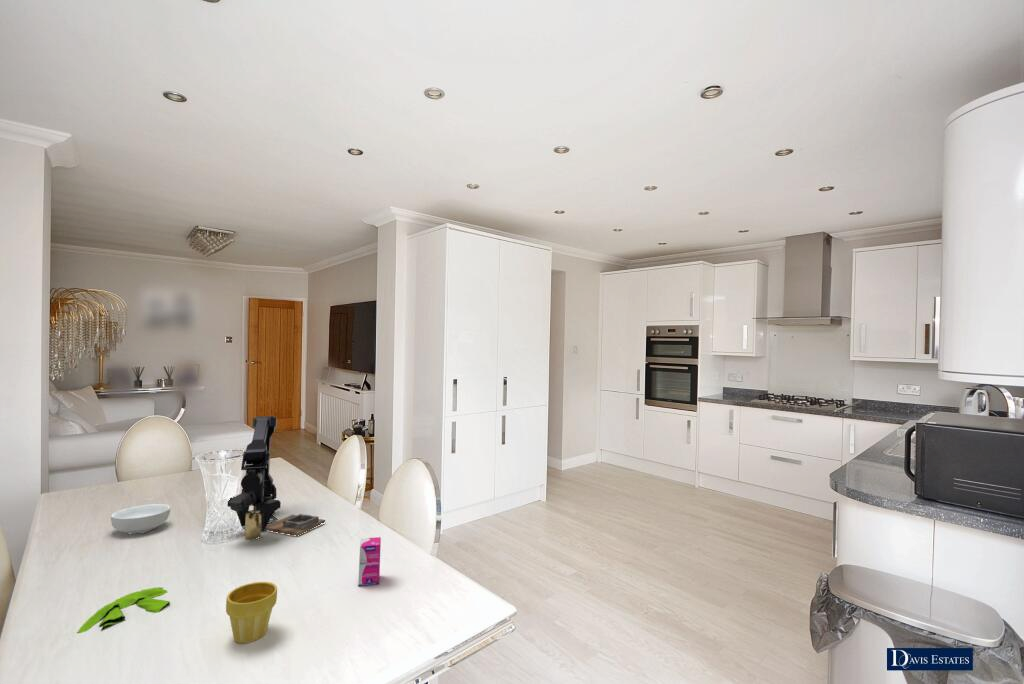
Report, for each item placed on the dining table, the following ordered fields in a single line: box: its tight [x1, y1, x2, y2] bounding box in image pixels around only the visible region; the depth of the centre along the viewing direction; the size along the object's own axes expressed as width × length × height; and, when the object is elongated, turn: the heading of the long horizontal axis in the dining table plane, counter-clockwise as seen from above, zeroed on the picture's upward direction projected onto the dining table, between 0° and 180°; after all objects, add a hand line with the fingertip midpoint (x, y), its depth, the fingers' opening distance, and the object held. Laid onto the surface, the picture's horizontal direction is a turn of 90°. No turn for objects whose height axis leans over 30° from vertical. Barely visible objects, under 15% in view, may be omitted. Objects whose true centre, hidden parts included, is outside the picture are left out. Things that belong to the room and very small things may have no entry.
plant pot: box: [225, 581, 278, 644], centre depth 106 cm, size 10×10×10 cm
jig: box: [265, 513, 326, 536], centre depth 172 cm, size 16×14×4 cm
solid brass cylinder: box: [244, 509, 262, 541], centre depth 162 cm, size 5×5×9 cm
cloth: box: [76, 586, 171, 634], centre depth 115 cm, size 20×22×2 cm
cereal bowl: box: [110, 503, 171, 535], centre depth 167 cm, size 17×17×7 cm
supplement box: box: [357, 536, 382, 587], centre depth 133 cm, size 6×6×12 cm
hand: (253, 527), depth 162 cm, fingers open, 9 cm apart
